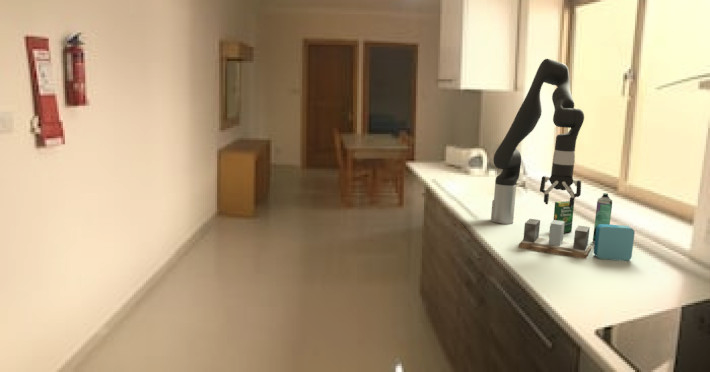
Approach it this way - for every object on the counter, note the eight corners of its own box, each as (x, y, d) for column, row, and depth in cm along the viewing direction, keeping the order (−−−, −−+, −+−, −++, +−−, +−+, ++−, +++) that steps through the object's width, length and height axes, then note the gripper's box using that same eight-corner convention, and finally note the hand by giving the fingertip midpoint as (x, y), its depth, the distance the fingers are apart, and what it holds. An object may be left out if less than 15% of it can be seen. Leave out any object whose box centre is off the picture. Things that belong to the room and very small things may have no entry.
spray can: (607, 242, 234) (613, 193, 230) (607, 245, 229) (613, 195, 225) (593, 240, 236) (598, 191, 232) (592, 243, 231) (597, 193, 228)
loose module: (547, 244, 218) (549, 223, 217) (550, 240, 224) (553, 219, 223) (559, 245, 216) (561, 225, 215) (562, 241, 222) (564, 221, 221)
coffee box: (555, 233, 245) (558, 202, 243) (551, 231, 248) (554, 201, 245) (571, 232, 247) (575, 202, 245) (567, 230, 250) (570, 200, 248)
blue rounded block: (626, 257, 213) (631, 225, 211) (631, 261, 208) (635, 228, 206) (592, 255, 214) (596, 223, 212) (596, 258, 210) (600, 226, 208)
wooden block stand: (518, 247, 220) (520, 223, 218) (526, 239, 232) (528, 217, 230) (586, 258, 209) (588, 233, 207) (590, 249, 221) (593, 226, 219)
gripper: (541, 161, 215) (536, 204, 217) (582, 165, 208) (577, 210, 211) (545, 159, 221) (540, 201, 224) (585, 163, 215) (579, 206, 217)
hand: (558, 205), depth 217 cm, fingers open, 8 cm apart
